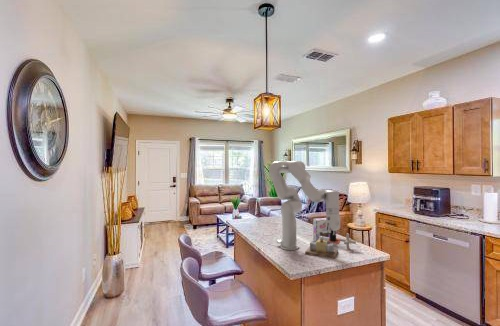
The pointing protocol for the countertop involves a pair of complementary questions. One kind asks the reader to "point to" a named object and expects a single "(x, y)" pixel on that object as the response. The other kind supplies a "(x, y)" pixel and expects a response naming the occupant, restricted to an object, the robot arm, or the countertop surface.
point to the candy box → (319, 229)
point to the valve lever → (329, 239)
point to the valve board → (321, 254)
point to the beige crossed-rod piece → (347, 241)
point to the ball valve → (321, 246)
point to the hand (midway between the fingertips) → (333, 241)
